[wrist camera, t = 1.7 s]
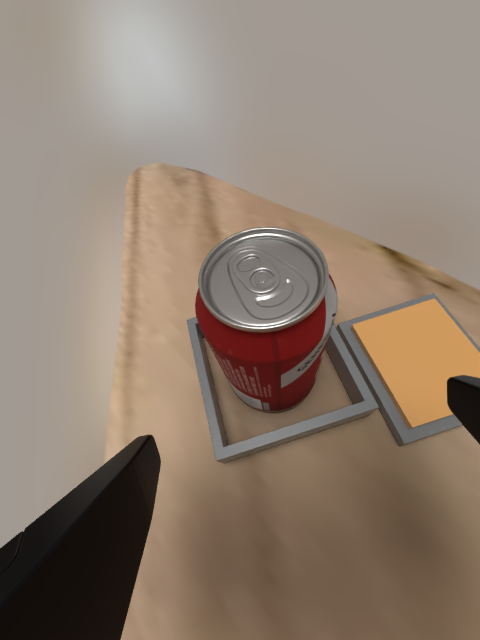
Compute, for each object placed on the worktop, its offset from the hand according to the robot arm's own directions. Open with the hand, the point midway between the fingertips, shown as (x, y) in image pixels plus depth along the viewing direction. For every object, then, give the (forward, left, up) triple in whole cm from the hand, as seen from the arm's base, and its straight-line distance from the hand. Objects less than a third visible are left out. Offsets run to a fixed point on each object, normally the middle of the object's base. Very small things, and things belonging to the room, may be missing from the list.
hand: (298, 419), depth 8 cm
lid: (+3, -11, -12) cm, 17 cm away
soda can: (+6, -1, -12) cm, 14 cm away
